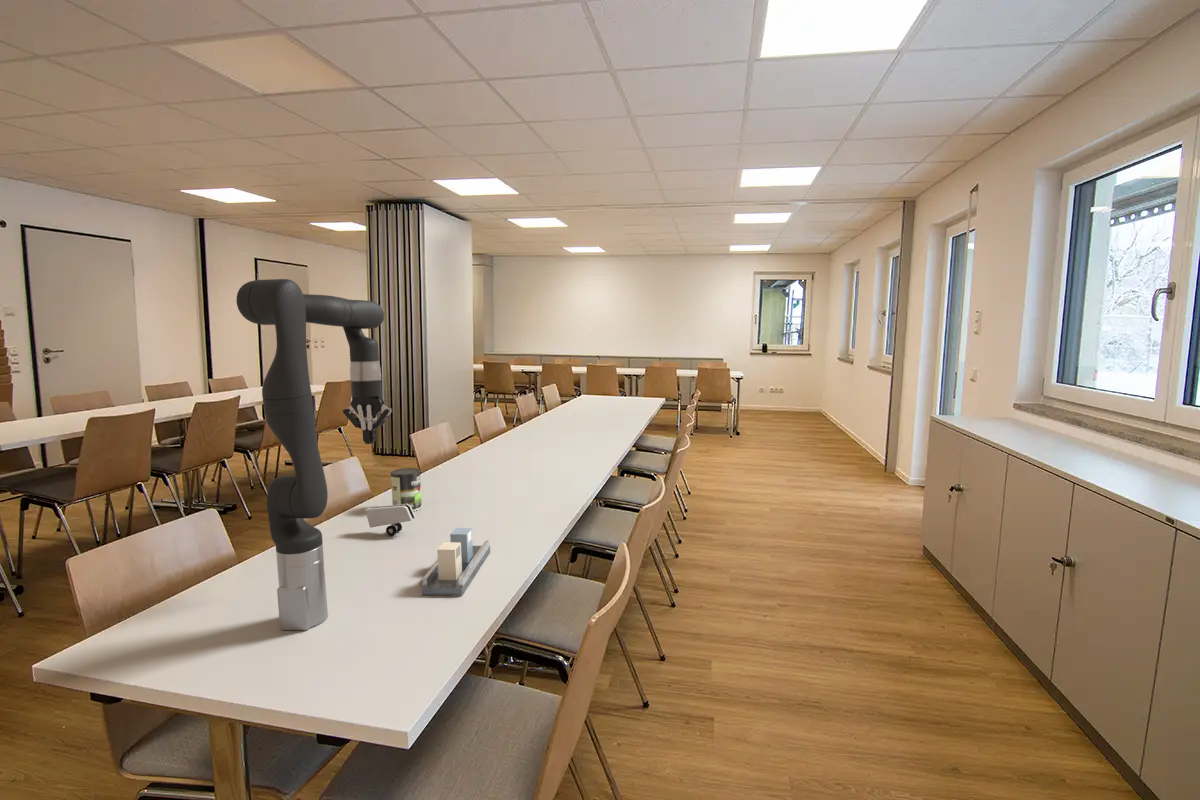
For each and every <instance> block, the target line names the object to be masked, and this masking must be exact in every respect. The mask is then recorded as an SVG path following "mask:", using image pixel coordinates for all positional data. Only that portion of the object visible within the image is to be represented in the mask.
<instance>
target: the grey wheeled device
mask: <svg viewBox="0 0 1200 800" xmlns="http://www.w3.org/2000/svg"><path fill="white" fill-rule="evenodd" d="M364 510H365V514H366V518H367V522H368V525H369V528H370V529H371V528H376V527H381V526H382V527H383V526H387V527H386V528H385V533H386V534H387V536H389V537H393V536H395V535H396V533H399V532H400V531H402V530H403V529H402V528H403V525H402V523H406V522H412V521H413V520H415V519H416V518H417V517H416V514H415V511H414V512H413V510H412V508H411V506H410V505H409V504H400V505H393V504H391V505H379V506H369V507H368V508H366V509H364Z"/></svg>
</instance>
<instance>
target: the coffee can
mask: <svg viewBox="0 0 1200 800" xmlns="http://www.w3.org/2000/svg"><path fill="white" fill-rule="evenodd" d="M390 480H391V481H390V485H391V498H392V499H391V500H392V501H391V502H392V505H400V504H409V505H410V506H411V508H412V510H413V511H414V512H417V511H419V510H421V509H422V508H423V507H422V506H423V505H422V488H421V486H422V485H421V484H422V483H421V469H419V468H415V467H405V468H398V469H394V470H392V471H390ZM416 510H417V511H416Z"/></svg>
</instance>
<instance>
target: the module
mask: <svg viewBox="0 0 1200 800" xmlns="http://www.w3.org/2000/svg"><path fill="white" fill-rule="evenodd" d="M472 528H473V527H455V528H454V529H453V531H452V532H451V533H450V534H449V537H450V542H461V558H462V563H468V562H469V561H470V559H471V558H472V556H473V546H474V545H473V529H472Z"/></svg>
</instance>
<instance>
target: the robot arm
mask: <svg viewBox="0 0 1200 800" xmlns="http://www.w3.org/2000/svg"><path fill="white" fill-rule="evenodd" d="M235 301H236V306H237V309H238V311H239V313H240V314H241V316H242V317H243V318H244V319H245V320H247V321H249V322H251V323H252V324H255V325H259V326H260V325H262V326H272V325H273V326H274V328H275V337H276V338H275V339H276V348H275V349H276V350H275V354H274V358H273V360H272V362H271V365H270V367H269V368H268V371H267V372H266V373H267V374H266V376H265V378H264V381H263V384H262V388H261V398H262V404H263V411H264V416H265V417H264V418H265V422H266V424H267V425H268V427H269V429H270V431H272V433H273V434H274V436H275V437H276V438H277V439H278V441H279V443H280V444H281V445H282V446H283V447H284V450H285V451H286V452H287V453H288V455H289V457H290V459H291V462H292V465H293V468H294V469H293V470H294V474H295V475H294V474H292V475H290V474H284V475H280V476H276V477H275V478H274V479H273V480H272V481H271V483H270V484H269V487H268V489H267V493H266V510H267V519H268V524H269V531H270V536H271V540H272V541H273V543H274V546H275V553H276V566H277V567H276V569H277V579H278V580H277V582H278V587H277V590H276V594H277V603H278V604H277V606H278V607H277V608H278V617H279V618H278V619H279V629H280V631H281V630H283V631H308V630H309V629H311V628H312V627H315V626H317V625H320V624H321V623H323V622H325V620H327V618H328V616H329V613H328V611H329V610H328V599H327V586H326V585H327V584H326V573H325V571H326V570H325V561H324V559H325V558H324V546H323V534H322V531H321V530H320V529H319V528H317V527H315V526H313V525H311V524H309V523H308V521H306V519H317V518H319V517H320V516H321V515H322V514H323V513H324V512H325V510H326V507H327V505H328V497H329V495H328V486H327V485H328V484H327V480H326V476H325V471H324V466H323V462H322V459H321V455H320V450H319V449H320V448H319V444H318V437H317V430H316V422H315V413H314V411H315V410H314V403H313V402H314V401H313V394H312V389H311V381H310V373H309V363H308V362H309V361H308V353H307V323H308V324H309V323H310V324H315V325H323V326H330V327H342V329H343V331H344V334H345V338H346V341H347V344H348V346H349V358H350V359H349V360H350V361H349V362H350V364H349V366H350V367H349V378H350V394H351V395H350V396H351V401H350V405H349V406H348V407H347V408H345V409H343V410H342V413H343V414H344V415H345V417H347V419H348V420H349V422H351V424H352V425H353V426H354V428H356V429H357V428H358V429H360V430H361V431H362V441H363V443H364V444H365V445H372V444H374V443H375V441H376V439H377V436H376V434H377V433H376V430H377V428H381V427H382V426H383V425H384V424H385V422H386V421H387V420H388V419H389V416H390V415H391V413H392V412H393V408H391V407H388V406H387V405H385V402H384V400H383V385H382V371H381V370H382V369H381V365H380V355H379V353H380V352H379V342H378V341H377V339H374V338H372V337H367V336H366V335H365V333H364V332H363V330H364V329H365V330H368V329H377V328H379V327H380V326H381V325H382V324H383V323H384V320H385V313H384V310H383V308H382V307H381V305H380V304H379V303H378V302H376V301H373V300H365V299H364V300H362V299H361V300H360V299H348V298H344V297H339V296H333V295H326V294H312V293H311V294H310V293H309V294H306V293H303V290H302V289H301V287H300V286H299V284H298V283H297V282H296V281H293V279H292V280H291V279H290V278H289V279H287V278H273V279H272V278H270V279H269V278H268V279H255V280H250V281H248V282H246V283H244V284H243V285H241V286H240V288H238V291H237V294H236V299H235ZM379 413H381V414H380V416H379V417H378V415H379Z"/></svg>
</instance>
